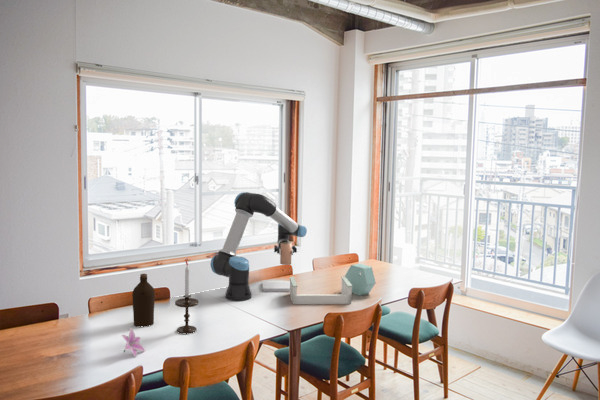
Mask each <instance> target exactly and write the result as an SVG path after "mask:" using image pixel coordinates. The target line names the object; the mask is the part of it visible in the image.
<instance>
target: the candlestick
mask: <svg viewBox="0 0 600 400" xmlns="http://www.w3.org/2000/svg"><path fill="white" fill-rule="evenodd" d="M185 264H186V267H185V269H184V271H185V272H184V279H185V280H184V295H182V298H179V299H176V300H175V302H174V303H175V304H174V305H175V306H176V307H178V308H179V307H180V308H185V309H184V310H185V314H184V315H183V318H184V320H183V321H184V322H185V323H184V325H182V326H179V327H177V329H176V333H178V332H179V333H178V334H180V333H186V334H185V335H188V334H187V333H192V334H194V333H196V332H197V327H196V326H195V325H189V322H190V319H189V318H190V317H191V315H190V314H189V308H191V307H195V306H198V305H199V299H197V298H194V297H193V298H192V295H191V294H190V268H189V266H188V265H189V263H188V260H185ZM195 331H196V332H195ZM193 332H194V333H193Z"/></svg>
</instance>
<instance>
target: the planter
mask: <svg viewBox="0 0 600 400" xmlns="http://www.w3.org/2000/svg"><path fill="white" fill-rule="evenodd" d="M344 277H346V278H347V279H348V281H349V282H350V283H351V284H352V294H354V295H358V296H360V297H361V296H364V295H369V294H370V293H371V291H372V289H373V288H374V287H375V285H376V278H375V275H374V271H373V267H372V266H370V265H366V264H363V263H356V264H351V265H350V266H349V268H348V270H347V271H346V273H345V275H344Z"/></svg>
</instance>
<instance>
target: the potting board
mask: <svg viewBox="0 0 600 400" xmlns="http://www.w3.org/2000/svg"><path fill="white" fill-rule="evenodd" d="M261 286H262V292H264V293H267V292H268V293H269V292H270V293H271V292H275V293H277V292H278V293H279V292H280V293H283V292H284V293H288V292H289V293H290V280H261Z"/></svg>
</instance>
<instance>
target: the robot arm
mask: <svg viewBox="0 0 600 400" xmlns="http://www.w3.org/2000/svg"><path fill="white" fill-rule="evenodd" d="M233 204H234V207H235V209H234V211H235V216H234V218H233V221H232V224H231V226H230V229H229V231H228V234H227V236H226V239H225V241H224V245H223V247H222V249H219V250H218V252H217V254H214V255H213V256H212V258H211V259H210V260H211V261H210V269H211V271H212V272H213V274H216V275H218V276H223V277H225V278H228V286H227V287H226V292H225V298H226V299H227V300H230V301H235V302H238V301H239V302H240V301H247V300H250V299H251V298H252V291H251V287H250V285H249V283H250V282H249V279H250V276H249V275H250V263H249V262H250V261H249V260H248V258H246V257H243V256H237V251H238V248H239V247H240V244H241V241H242V239H243V236H244V233H245V230H246V227H247V225H248V223H249V219H250V218H252V217H253V215H254V213H258V214H262V215H264V216H265V217H269V218H271V219H272V220H273V221H275V222H276V223H277V224H278V226H277V227H278V228H277V233H278V234H277V243H276V244H277V245H276V244H275V245H274V246H273V248H274V249H273V252H274V253H276V254H278V255H279V256H280V255H281V242H290V240H289V239H290V236H293V237H298V238H304V237H305V236H306V234H307V227H306V226H304V225H300V224H298V223H297V222H296V221H295V220H294V219H292V218H291V217H290V216H288V214H286V213H285V211H282V210H281V209H280V208H278V207H277V206H278V205H277V204H276V202H273V200H272V199H270V198H268V197H267V196H265V195H264V194H261V193H255V192H253V193H252V192H244V191H243V192H240V193H239V194H237V195H236V196H235V199H234V203H233ZM297 249H298V248H297V247H296V245H292V255H291V256H294V254H297V252H298V251H297Z"/></svg>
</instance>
